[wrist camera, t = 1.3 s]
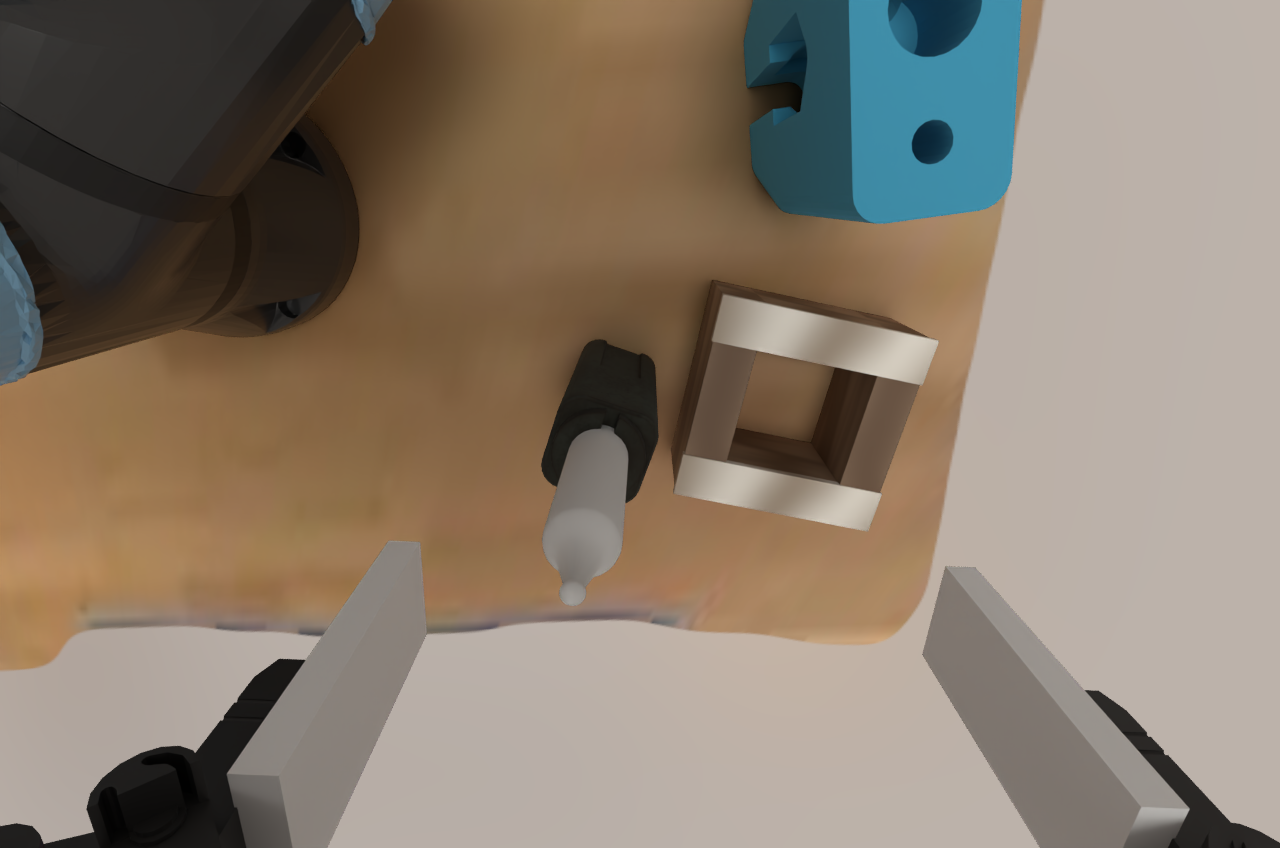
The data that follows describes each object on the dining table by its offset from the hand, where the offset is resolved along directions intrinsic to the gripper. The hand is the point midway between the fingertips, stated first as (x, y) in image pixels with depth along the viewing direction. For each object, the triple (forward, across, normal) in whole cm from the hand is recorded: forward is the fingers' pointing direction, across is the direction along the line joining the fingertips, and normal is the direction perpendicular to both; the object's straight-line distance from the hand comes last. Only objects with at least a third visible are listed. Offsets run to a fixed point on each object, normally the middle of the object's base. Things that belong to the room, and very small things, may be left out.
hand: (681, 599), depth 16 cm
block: (+28, +7, +15) cm, 33 cm away
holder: (+28, +9, -3) cm, 29 cm away
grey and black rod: (+28, -3, -3) cm, 29 cm away
